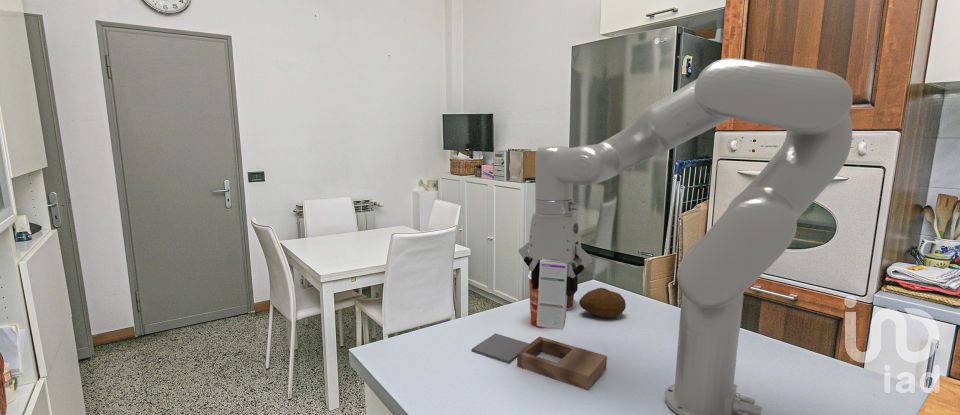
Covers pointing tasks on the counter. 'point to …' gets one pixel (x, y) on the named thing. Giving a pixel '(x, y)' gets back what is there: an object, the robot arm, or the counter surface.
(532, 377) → the counter surface
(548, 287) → the syrup box
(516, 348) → the rubber mat
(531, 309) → the paper cup
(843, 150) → the robot arm
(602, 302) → the potato
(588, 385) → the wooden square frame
